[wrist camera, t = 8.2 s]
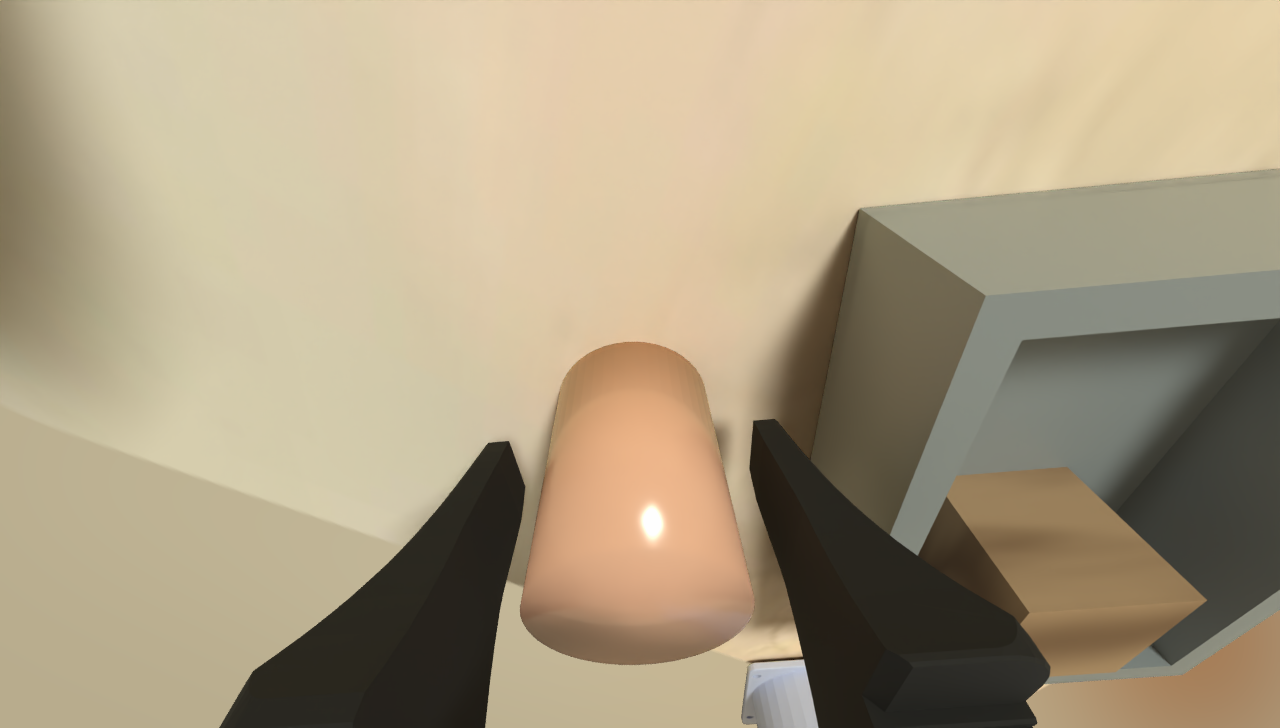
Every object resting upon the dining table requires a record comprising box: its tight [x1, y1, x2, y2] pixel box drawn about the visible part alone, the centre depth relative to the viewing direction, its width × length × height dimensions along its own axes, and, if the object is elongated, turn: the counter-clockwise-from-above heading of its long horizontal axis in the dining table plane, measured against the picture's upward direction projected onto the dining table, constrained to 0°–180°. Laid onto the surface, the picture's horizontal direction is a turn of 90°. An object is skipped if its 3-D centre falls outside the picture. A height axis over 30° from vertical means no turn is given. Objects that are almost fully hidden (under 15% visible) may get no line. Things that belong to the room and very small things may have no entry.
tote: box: [810, 169, 1280, 684], centre depth 15 cm, size 18×14×5 cm
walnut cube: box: [918, 467, 1207, 677], centre depth 16 cm, size 5×5×5 cm
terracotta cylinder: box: [520, 342, 755, 665], centre depth 13 cm, size 5×5×7 cm
